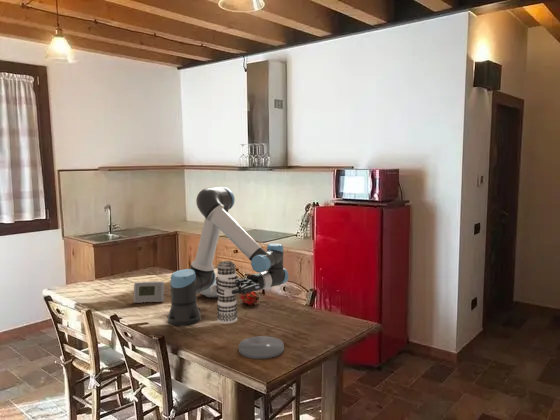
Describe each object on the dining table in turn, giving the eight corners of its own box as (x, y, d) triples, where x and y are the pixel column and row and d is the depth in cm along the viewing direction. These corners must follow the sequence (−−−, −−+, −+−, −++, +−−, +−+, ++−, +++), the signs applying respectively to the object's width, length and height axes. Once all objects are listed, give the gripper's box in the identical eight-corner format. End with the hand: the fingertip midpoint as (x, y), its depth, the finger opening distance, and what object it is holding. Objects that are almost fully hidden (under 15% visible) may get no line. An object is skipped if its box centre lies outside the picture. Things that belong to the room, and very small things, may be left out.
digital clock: (131, 303, 244) (131, 284, 243) (138, 298, 253) (138, 279, 252) (161, 304, 242) (160, 284, 241) (167, 299, 251) (166, 280, 250)
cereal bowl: (230, 298, 252) (230, 285, 251) (200, 301, 247) (199, 288, 246) (225, 290, 268) (224, 278, 267) (196, 292, 263) (196, 280, 262)
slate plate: (237, 359, 173) (237, 354, 173) (239, 341, 191) (239, 336, 190) (285, 358, 174) (285, 353, 174) (282, 340, 192) (282, 335, 191)
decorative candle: (237, 315, 199) (236, 259, 196) (238, 323, 190) (237, 264, 187) (216, 316, 198) (215, 260, 195) (216, 324, 188) (215, 265, 186)
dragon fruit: (242, 303, 247) (257, 311, 239) (233, 297, 241) (249, 305, 233) (249, 289, 249) (265, 297, 241) (241, 283, 243) (257, 291, 235)
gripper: (275, 294, 197) (233, 305, 182) (244, 284, 213) (203, 294, 197) (275, 277, 196) (233, 287, 181) (244, 269, 212) (203, 277, 196)
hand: (218, 291), depth 189 cm, fingers closed on decorative candle, 8 cm apart
